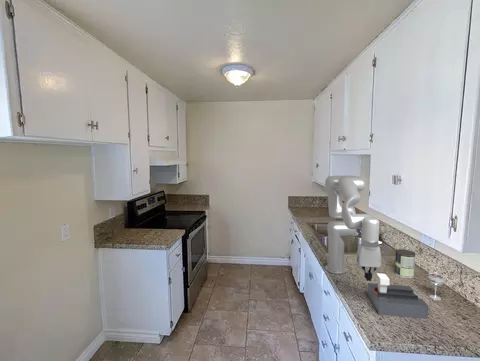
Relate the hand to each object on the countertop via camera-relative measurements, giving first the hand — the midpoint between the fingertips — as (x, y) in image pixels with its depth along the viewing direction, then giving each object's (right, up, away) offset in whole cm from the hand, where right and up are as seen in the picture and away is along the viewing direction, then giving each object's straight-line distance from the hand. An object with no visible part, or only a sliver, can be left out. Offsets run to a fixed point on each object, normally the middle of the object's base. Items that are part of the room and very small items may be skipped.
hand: (368, 279), depth 128 cm
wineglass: (+37, -12, +6) cm, 39 cm away
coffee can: (+38, -9, +32) cm, 50 cm away
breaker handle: (+6, -6, -1) cm, 9 cm away
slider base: (+12, -12, -1) cm, 17 cm away
